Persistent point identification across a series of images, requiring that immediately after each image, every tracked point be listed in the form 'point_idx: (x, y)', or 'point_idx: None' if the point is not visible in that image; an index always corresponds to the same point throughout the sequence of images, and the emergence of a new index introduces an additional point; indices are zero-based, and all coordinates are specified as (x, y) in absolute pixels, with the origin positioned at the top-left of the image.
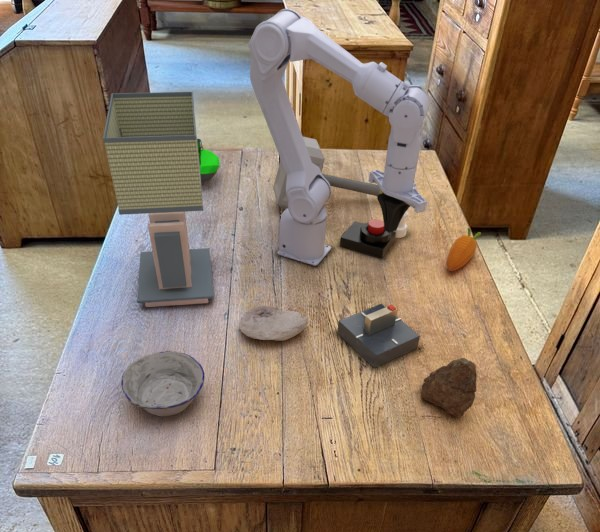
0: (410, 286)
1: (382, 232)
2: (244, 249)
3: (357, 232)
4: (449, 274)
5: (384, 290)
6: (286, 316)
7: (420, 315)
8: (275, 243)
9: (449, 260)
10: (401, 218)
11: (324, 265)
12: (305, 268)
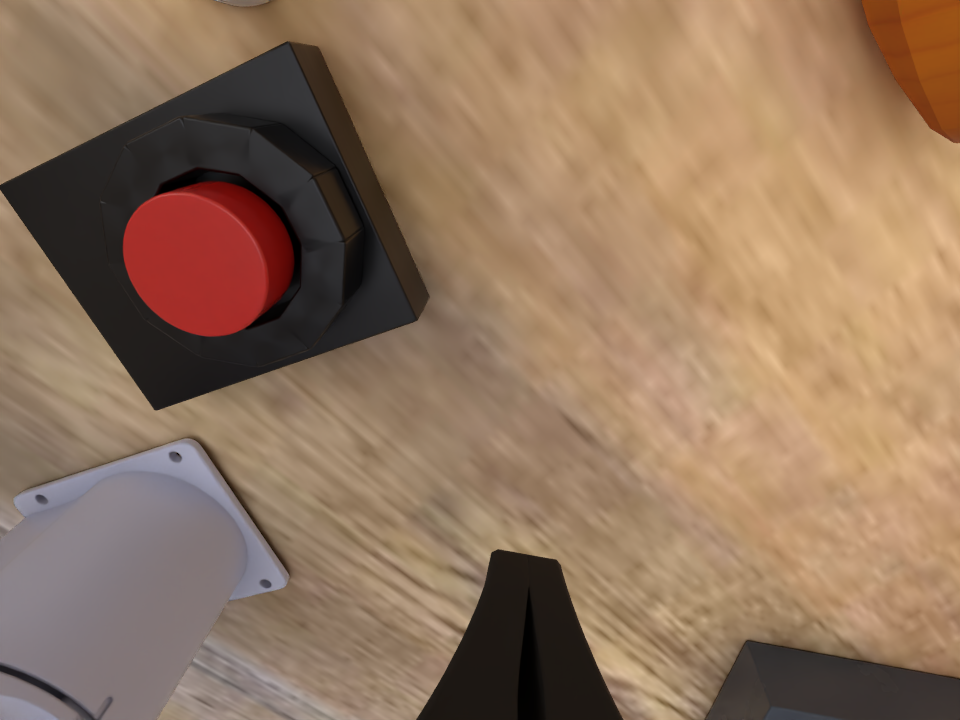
0: (740, 388)
1: (289, 249)
2: None
3: None
4: None
5: (648, 503)
6: None
7: (915, 532)
8: None
9: (944, 72)
10: (598, 673)
11: (303, 544)
12: (278, 606)
